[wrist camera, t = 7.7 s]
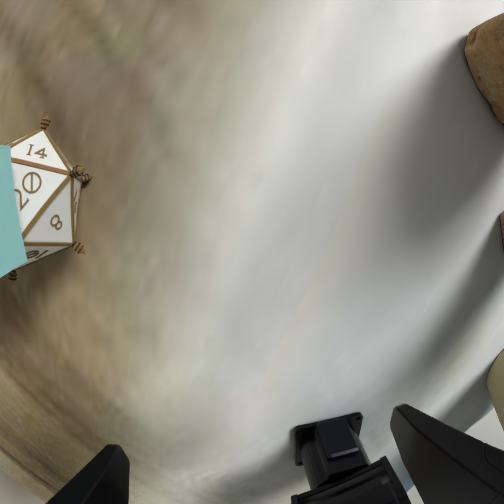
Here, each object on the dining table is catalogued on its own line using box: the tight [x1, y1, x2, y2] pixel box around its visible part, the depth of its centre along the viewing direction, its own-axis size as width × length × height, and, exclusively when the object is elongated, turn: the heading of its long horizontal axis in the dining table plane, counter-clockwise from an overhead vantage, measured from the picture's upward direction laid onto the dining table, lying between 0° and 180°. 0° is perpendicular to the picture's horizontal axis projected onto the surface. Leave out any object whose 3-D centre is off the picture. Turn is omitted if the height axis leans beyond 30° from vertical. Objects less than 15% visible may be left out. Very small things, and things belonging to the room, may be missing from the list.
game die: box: [3, 114, 92, 284], centre depth 13 cm, size 9×8×10 cm
